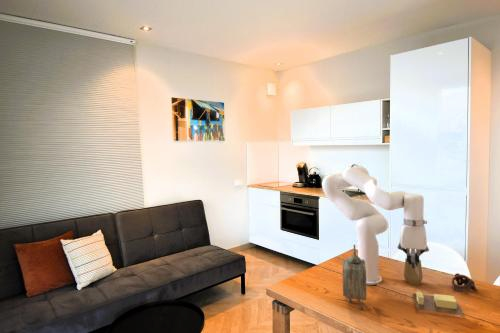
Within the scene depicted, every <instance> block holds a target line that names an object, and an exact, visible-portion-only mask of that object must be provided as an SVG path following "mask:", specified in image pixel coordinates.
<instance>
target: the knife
mask: <svg viewBox="0 0 500 333" xmlns="http://www.w3.org/2000/svg"><path fill="white" fill-rule="evenodd" d="M410 265H411V267H412V268H414V269H415V271H416V273H417V275H418V277H419V270H418V268H417V261H416V260H415V257H414V256H413V255H411V264H410Z"/></svg>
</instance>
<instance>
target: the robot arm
mask: <svg viewBox="0 0 500 333" xmlns="http://www.w3.org/2000/svg"><path fill="white" fill-rule="evenodd" d="M377 184H378V181H377V179H376V178H375V177H374V176H372V175H370V173H369V170H368V169H367V168H366V167H364V166H361V165H360V166H350V167H347V168H345V169H344V170H343V172H340V173H332V174H328V175H326V176H325V177H324V178H323V179H322V182H321V188H322V192H323V194H324V195H325V196H326V198H327V199H328V200H329V201H330V202H332V203H333V204H334V205H335V207H336V208H337V209H338V210H339V211H340V212H341V213H342V214H343V215H344V216H345V217H346V218H347V219H348V220H350V221H352V222H353V221H357V222H356V225H355V232H356V235H357V237H356V238H357V256H358V257H359V258H360V259H362V260H365V265H366V286H367V285H368V286H377V285H378V283H381V282H382V281H383V278H382V276H380V268H379V267H380V261H379V260H380V257H379V256H380V255H379V254H380V253H379V250H380V249H379V242H378V239H377V235H380V234H383V233H385V232H386V231H387V230H388V228H389V223H388V220H387V219H386V217H385V216H384V215H383V214H382V213H381V212H380V211H379V210H378V209H377V208H376V207H375V206H374V205H372V204H371V202H372V203H373V204H375V205H376V206H378V207H379V208H381V209H383V210H387V211H394V210H398V209H403V223H401V226H400V231H399V243H398V244H397V250H400V251H402V252H403V253H404V254H406V258H407V262H408V263H409V265H410V264H411V255H410V252H411V249H415V252H416V253H415V260H416V261H417V265H418V263H419V260H420V257H421V256H422V254H424V253H426V252H430V248H429V246H428V241H427V231H426V230H427V229H426V227H425V225H427V224H428V220H426V219H424V202H425V201H424V199H425V198H424V196H423V195H422V194H418V193H409V192H406V191H402V190H401V191H400V190H398V191H393V192H387V191H385V190H383V189H381V188H379V187H378V186H377ZM351 187H354V188H356V189H358V190H360V191H361V192H362V193H365V195H366V197H367V198H368V199H369V201H370V202H369V201H367V200H365V199H364V200H362V199H360V200H354V199H353V198H352V197H351V196H350V195H349V194H347V192H344V191H343V190H342V189H347V188H351Z"/></svg>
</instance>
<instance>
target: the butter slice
mask: <svg viewBox="0 0 500 333" xmlns="http://www.w3.org/2000/svg"><path fill="white" fill-rule="evenodd" d="M416 294H417V301H418V304H422V305H424V296H423V295H424V293H423V292H422V291H416Z"/></svg>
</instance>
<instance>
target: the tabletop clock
mask: <svg viewBox="0 0 500 333" xmlns="http://www.w3.org/2000/svg"><path fill="white" fill-rule="evenodd" d="M342 295H343V296H344V297H345V298H347V302H349V303H352V300H357V302H358V304H359V309H360V310H364V308H365V307H364V305H363V304H362V302H361V301H367V284H366V265H365V260H362V259H360V258H359V257H358V255H357V252H356V244H353V252H352V255H350V256H349V257H348V258H347V257H346V258H345V259H343V260H342Z"/></svg>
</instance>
